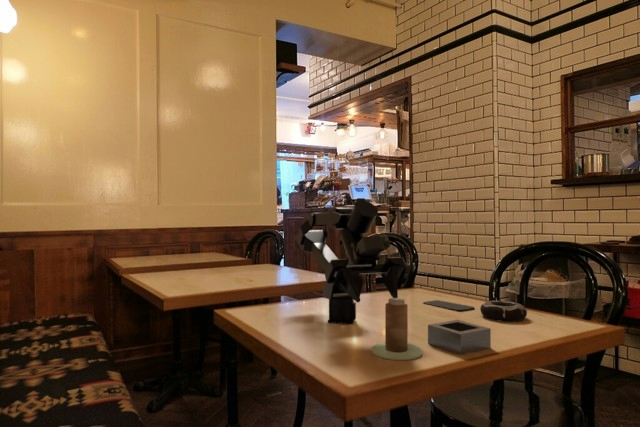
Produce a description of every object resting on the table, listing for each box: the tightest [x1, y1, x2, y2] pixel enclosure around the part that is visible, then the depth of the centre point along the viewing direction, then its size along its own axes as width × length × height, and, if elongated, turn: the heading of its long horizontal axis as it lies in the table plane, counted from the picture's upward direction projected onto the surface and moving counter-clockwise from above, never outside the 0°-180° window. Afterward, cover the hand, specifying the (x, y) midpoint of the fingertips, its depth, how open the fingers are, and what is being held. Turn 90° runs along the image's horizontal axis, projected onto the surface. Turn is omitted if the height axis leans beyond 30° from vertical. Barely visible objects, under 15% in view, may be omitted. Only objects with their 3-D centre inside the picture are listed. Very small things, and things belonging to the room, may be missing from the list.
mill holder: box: [427, 319, 492, 355], centre depth 92 cm, size 9×9×4 cm
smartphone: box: [422, 299, 475, 313], centre depth 133 cm, size 7×1×15 cm
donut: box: [480, 300, 528, 323], centre depth 118 cm, size 12×12×4 cm
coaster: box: [371, 341, 423, 361], centre depth 88 cm, size 10×10×1 cm
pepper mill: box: [384, 297, 409, 353], centre depth 88 cm, size 4×4×10 cm
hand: (377, 300), depth 95 cm, fingers open, 9 cm apart
